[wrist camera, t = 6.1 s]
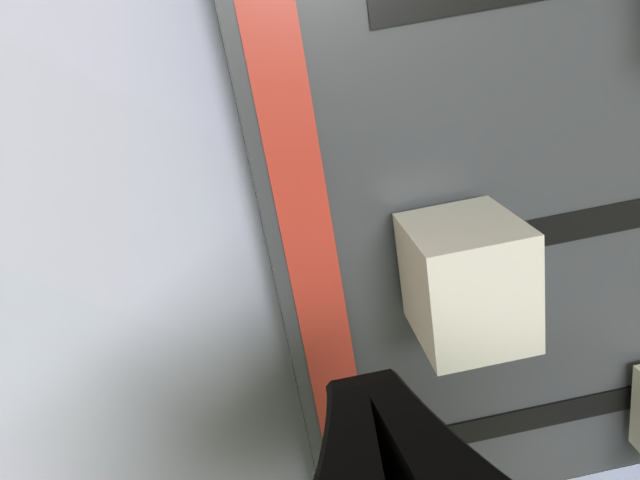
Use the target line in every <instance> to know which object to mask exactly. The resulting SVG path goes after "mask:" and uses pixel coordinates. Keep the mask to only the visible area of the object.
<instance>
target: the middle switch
mask: <svg viewBox="0 0 640 480" xmlns="http://www.w3.org/2000/svg"><path fill="white" fill-rule="evenodd" d="M392 216H393V225H394V233H395V242H396V250H397V258H398V267H399V275H400V284H401V292H402V300H403V309H404V314H405V316H406V318H407V320H408V322H409V324H410V326H411V328H412V329H413V331H414V333H415V335H416V337H417V339H418V341H419V343H420V344H421V346H422V348H423V350H424V352H425V354H426V356H427V358H428V359H429V361H430V363H431V365H432V367H433V369H434V371H435V373H436V374H437V376H442V375H447V374H452V373H457V372H462V371H466V370H471V369H476V368H481V367H486V366H490V365H495V364H500V363H505V362H510V361H514V360H519V359H524V358H529V357H534V356H538V355H543V354H545V243H544V234H542V233H541V232H539V231H538V230H537V229H535V228H534V227H532V226H531V225H529V224H528V223H527V222H525V221H524V220H522V219H521V218H519V217H518V216H517V215H515V214H514V213H512V212H511V211H509V210H508V209H507V208H505V207H504V206H502V205H501V204H499V203H498V202H497V201H495V200H494V199H492V198H491V197H489V196H488V195H487V196H482V197H477V198H471V199H466V200H461V201H456V202H451V203H446V204H440V205H435V206H430V207H425V208H420V209H414V210H409V211H404V212H399V213H394V214H392Z"/></svg>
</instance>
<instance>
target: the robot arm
mask: <svg viewBox="0 0 640 480" xmlns="http://www.w3.org/2000/svg"><path fill="white" fill-rule="evenodd" d="M326 392H327V409H326V419H325V427H324V433H323V439H322V444H321V449H320V455H319V460H318V464H317V468H316V472H315V476H314V479H313V480H512V479H511V478H509V477H508V476H507V475H505V474H504V473H503V472H502V471H500V470H499V469H498V468H496V467H495V466H494V465H492V464H491V463H490V462H489V461H488V460H486V459H485V458H484V457H483V456H481V455H480V454H479V453H478V452H477V451H475V450H474V449H473V448H472V447H471V446H469V445H468V444H467V443H466V442H465V441H464V440H462V439H461V438H460V437H459V436H458V435H457V434H456V433H455V432H454V431H453V430H451V429H450V428H449V427H448V426H447V425H446V424H445V423H444V422H443V421H442V420H441V419H440V418H438V417H437V416H436V415H435V414H434V413H433V412H432V411H431V410H430V409H429V408H428V407H427V406H426V405H425V404H424V403H423V402H422V401H421V400H420V398H419V397H418V396H417V395H416V394H415V393H414V392H413V391H412V390H411V389H410V388H409V387H408V386H407V384H406V383H405V382H404V381H403V380H402V379H401V377H400V376H399V375H398V374H397V372H395V371H394V370H392V369H386V370H381V371H376V372H371V373H366V374H361V375H356V376H351V377H346V378H342V379H337V380H332V381H330V382H329V383H328V384H327V386H326Z"/></svg>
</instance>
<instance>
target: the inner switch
mask: <svg viewBox="0 0 640 480" xmlns="http://www.w3.org/2000/svg"><path fill="white" fill-rule="evenodd" d="M628 441H629V442H630V443H631V444H632V445H633V447H634V448H635V449H636V450H637V451H638V452H639V453H640V364H638V365H633V375H632V391H631V407H630V423H629V439H628Z"/></svg>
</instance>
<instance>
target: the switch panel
mask: <svg viewBox="0 0 640 480" xmlns="http://www.w3.org/2000/svg"><path fill="white" fill-rule="evenodd" d="M214 2H215V7H216V11H217V16H218V21H219V25H220V30H221V35H222V39H223V44H224V49H225V53H226V58H227V63H228V67H229V72H230V76H231V81H232V86H233V90H234V95H235V100H236V104H237V109H238V114H239V118H240V123H241V128H242V132H243V137H244V141H245V146H246V151H247V155H248V160H249V165H250V169H251V174H252V179H253V183H254V188H255V193H256V197H257V202H258V206H259V211H260V216H261V220H262V225H263V230H264V234H265V239H266V244H267V248H268V253H269V258H270V262H271V267H272V271H273V276H274V281H275V285H276V290H277V295H278V299H279V304H280V309H281V313H282V318H283V323H284V327H285V332H286V336H287V341H288V346H289V350H290V355H291V360H292V364H293V369H294V374H295V378H296V383H297V388H298V392H299V397H300V401H301V406H302V411H303V415H304V420H305V425H306V429H307V434H308V439H309V443H310V448H311V453H312V457H313V462H314V466H315V471H316V468H317V464H318V460H319V455H320V449H321V444H322V439H323V433H324V427H325V419H326V409H327V392H326V386H327V384H328V383H329V382H330V381H332V380H337V379H342V378H346V377H351V376H356V375H361V374H366V373H371V372H376V371H381V370H386V369H392V370H394V371H395V372H397V374H398V375H399V376H400V377H401V379H402V380H403V381H404V382H405V383H406V384H407V386H408V387H409V388H410V389H411V390H412V391H413V392H414V393H415V394H416V395H417V396H418V397H419V398H420V400H421V401H422V402H423V403H424V404H425V405H426V406H427V407H428V408H429V409H430V410H431V411H432V412H433V413H434V414H435V415H436V416H437V417H438V418H440V419H441V420H442V421H443V422H444V423H445V424H446V425H447V426H448V427H449V428H450V429H451V430H453V431H454V432H455V433H456V434H457V435H458V436H459V437H460V438H461V439H462V440H464V441H465V442H466V443H467V444H468V445H469V446H471V447H472V448H473V449H474V450H475V451H477V452H478V453H479V454H480V455H481V456H483V457H484V458H485V459H486V460H488V461H489V462H490V463H491V464H492V465H494V466H495V467H496V468H498V469H499V470H500V471H502V472H503V473H504V474H505V475H507V476H508V477H509V478H511V479H512V480H567V479H571V478H576V477H581V476H585V475H590V474H594V473H599V472H603V471H608V470H612V469H617V468H621V467H626V466H631V465H635V464H640V453H639V452H638V451H637V450H636V449H635V448H634V447H633V445H632V444H631V443H630V442H629V441H628V439H629V423H630V407H631V391H632V375H633V365H638V364H640V0H214ZM487 195H488V196H489V197H491V198H492V199H494V200H495V201H497V202H498V203H499V204H501V205H502V206H504V207H505V208H507V209H508V210H509V211H511V212H512V213H514V214H515V215H517V216H518V217H519V218H521V219H522V220H524V221H525V222H527V223H528V224H529V225H531V226H532V227H534V228H535V229H537V230H538V231H539V232H541V233H542V234H544V243H545V354H543V355H538V356H534V357H529V358H524V359H519V360H514V361H510V362H505V363H500V364H495V365H490V366H486V367H481V368H476V369H471V370H466V371H462V372H457V373H452V374H447V375H442V376H437V374H436V373H435V371H434V369H433V367H432V365H431V363H430V361H429V359H428V358H427V356H426V354H425V352H424V350H423V348H422V346H421V344H420V343H419V341H418V339H417V337H416V335H415V333H414V331H413V329H412V328H411V326H410V324H409V322H408V320H407V318H406V316H405V314H404V309H403V300H402V292H401V284H400V275H399V267H398V258H397V250H396V242H395V233H394V225H393V216H392V214H394V213H399V212H404V211H409V210H414V209H420V208H425V207H430V206H435V205H440V204H446V203H451V202H456V201H461V200H466V199H471V198H477V197H482V196H487Z"/></svg>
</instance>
